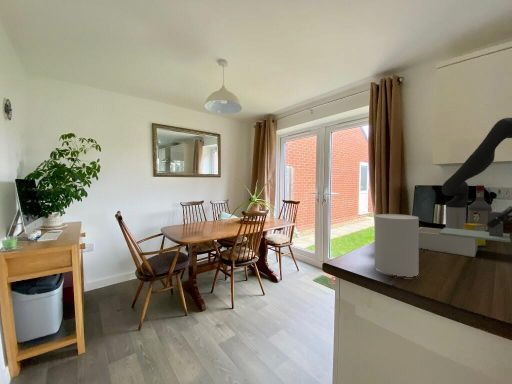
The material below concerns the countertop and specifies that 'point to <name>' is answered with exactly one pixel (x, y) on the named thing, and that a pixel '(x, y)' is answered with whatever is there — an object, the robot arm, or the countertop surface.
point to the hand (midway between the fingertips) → (489, 225)
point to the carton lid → (493, 233)
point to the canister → (397, 244)
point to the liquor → (479, 209)
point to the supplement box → (476, 228)
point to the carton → (446, 242)
